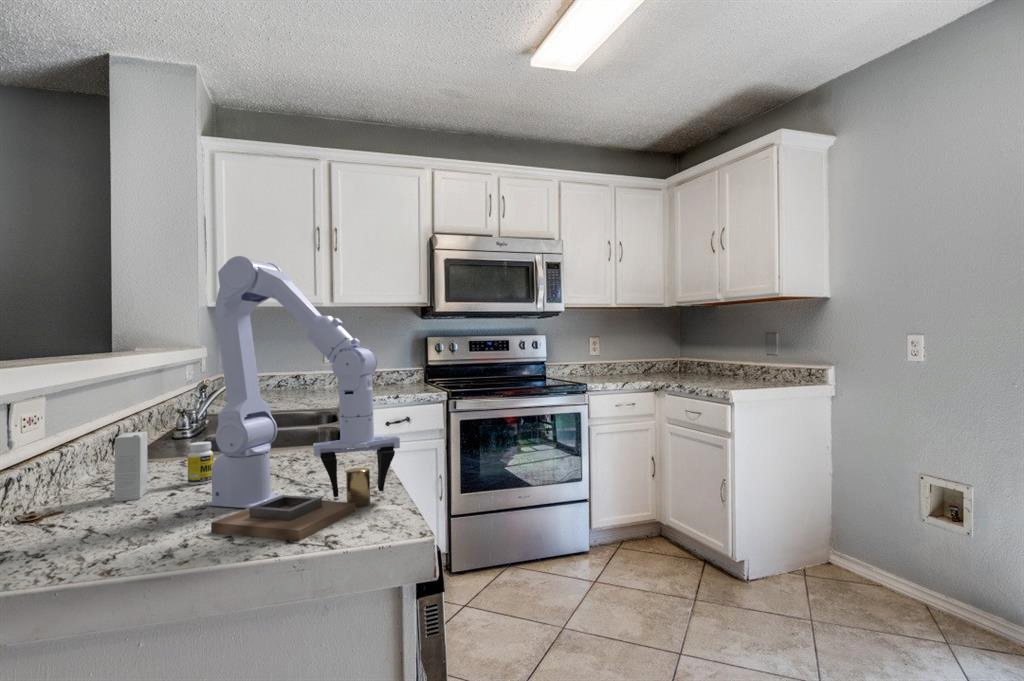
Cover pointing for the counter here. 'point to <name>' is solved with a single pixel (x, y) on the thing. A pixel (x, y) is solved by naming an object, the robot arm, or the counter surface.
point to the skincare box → (130, 466)
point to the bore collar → (275, 511)
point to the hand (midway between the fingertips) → (358, 492)
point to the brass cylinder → (358, 486)
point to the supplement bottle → (200, 463)
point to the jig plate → (284, 522)
